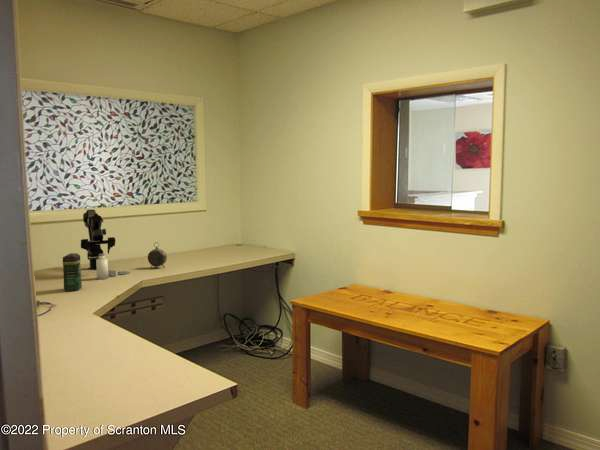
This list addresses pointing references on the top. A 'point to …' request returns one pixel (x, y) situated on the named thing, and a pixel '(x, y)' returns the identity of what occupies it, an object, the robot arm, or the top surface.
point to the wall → (112, 272)
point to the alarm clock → (157, 257)
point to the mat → (123, 272)
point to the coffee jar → (72, 272)
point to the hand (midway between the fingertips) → (99, 254)
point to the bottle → (102, 267)
